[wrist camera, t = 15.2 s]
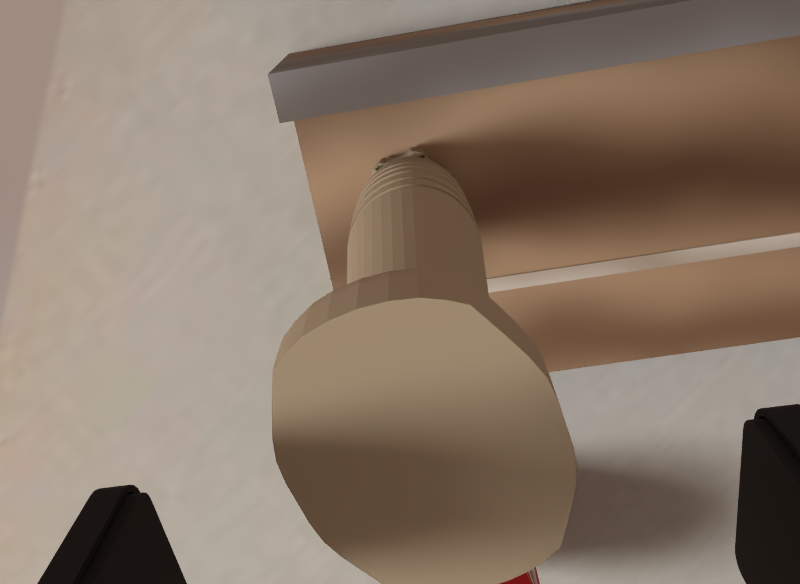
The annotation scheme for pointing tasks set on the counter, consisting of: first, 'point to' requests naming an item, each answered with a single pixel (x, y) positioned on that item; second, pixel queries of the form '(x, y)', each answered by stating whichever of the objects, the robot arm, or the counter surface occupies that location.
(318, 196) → the board
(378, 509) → the handle
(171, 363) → the counter surface
